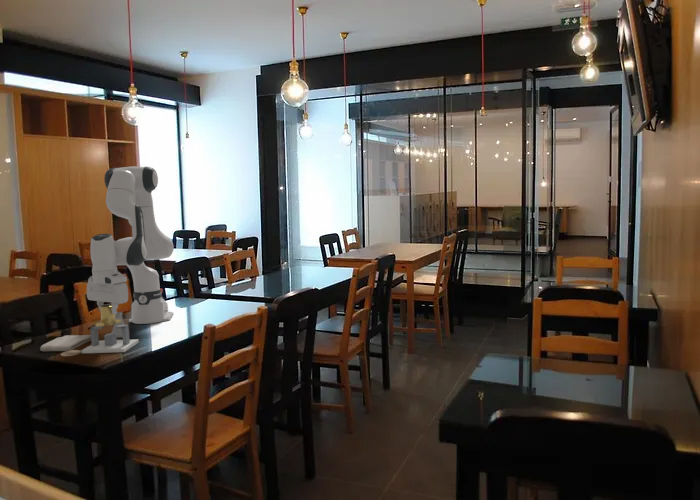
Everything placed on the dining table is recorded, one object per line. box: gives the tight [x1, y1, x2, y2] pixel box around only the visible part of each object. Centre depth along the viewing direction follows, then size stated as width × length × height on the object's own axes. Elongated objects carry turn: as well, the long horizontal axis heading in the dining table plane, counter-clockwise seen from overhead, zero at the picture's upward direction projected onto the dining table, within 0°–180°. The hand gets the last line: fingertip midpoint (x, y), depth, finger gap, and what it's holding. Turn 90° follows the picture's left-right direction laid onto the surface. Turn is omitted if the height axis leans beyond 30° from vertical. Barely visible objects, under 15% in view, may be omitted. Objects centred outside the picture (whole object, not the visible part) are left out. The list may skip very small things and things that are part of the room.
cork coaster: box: [60, 349, 83, 357], centre depth 219 cm, size 7×7×1 cm
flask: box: [111, 311, 131, 339], centre depth 243 cm, size 7×7×10 cm
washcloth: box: [39, 334, 91, 352], centre depth 232 cm, size 12×18×3 cm, turn 176°
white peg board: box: [81, 324, 140, 354], centre depth 225 cm, size 14×16×8 cm
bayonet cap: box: [95, 303, 121, 327], centre depth 224 cm, size 5×9×8 cm, turn 144°
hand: (108, 313), depth 224 cm, fingers closed on bayonet cap, 5 cm apart
